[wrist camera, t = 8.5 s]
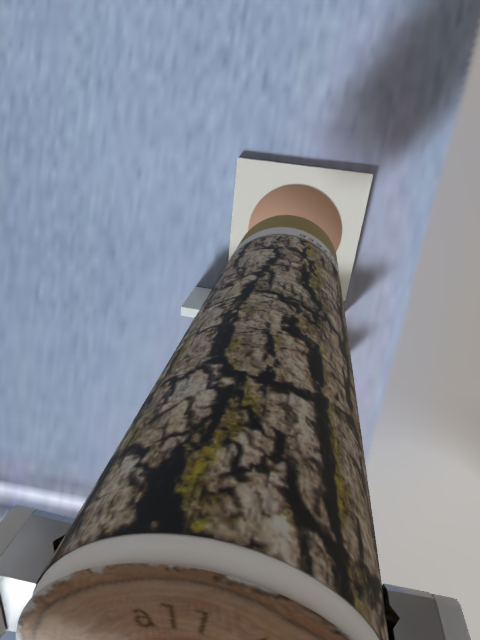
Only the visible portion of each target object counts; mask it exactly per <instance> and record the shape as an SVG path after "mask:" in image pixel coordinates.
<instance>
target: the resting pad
mask: <svg viewBox="0 0 480 640" xmlns="http://www.w3.org/2000/svg"><path fill="white" fill-rule="evenodd" d="M372 178H373V174H372V173H364V172H355V171H347V170H339V169H331V168H323V167H315V166H307V165H298V164H290V163H282V162H274V161H266V160H258V159H250V158H242V157H238V160H237V171H236V181H235V192H234V203H233V214H232V225H231V236H230V247H229V257H228V261H229V260H230V259H231V256H232V255H233V253H234V251H235V250H236V249H237V247H238V245H239V244H240V242H241V240H242V239H243V237H244V236H245V234H246V233H247V232H248V231H249V230H250V229H251V228H252V227H253V226H254V225H256V224H257V223H259V222H261V221H263V220H265V219H267V218H270V217H273V216H278V215H294V216H299V217H303V218H305V219H308V220H310V221H312V222H313V223H315V224H316V225H318V226H319V227H320V228H321V229H322V230H323V231H324V232H325V233H326V234H327V235H328V237H329V238H330V240H331V242H332V244H333V246H334V248H335V251H336V256H337V262H338V269H339V274H340V282H341V289H342V296H343V301H345V300H346V295H347V291H348V286H349V282H350V277H351V273H352V268H353V264H354V259H355V255H356V250H357V246H358V241H359V237H360V232H361V228H362V223H363V219H364V214H365V210H366V205H367V201H368V196H369V192H370V187H371V183H372Z"/></svg>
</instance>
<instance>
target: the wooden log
mask: <svg viewBox="0 0 480 640" xmlns="http://www.w3.org/2000/svg"><path fill="white" fill-rule="evenodd" d="M16 640H389V635H388V628H387V621H386V613H385V606H384V599H383V591H382V584H381V577H380V569H379V562H378V554H377V547H376V540H375V532H374V525H373V517H372V510H371V503H370V496H369V489H368V481H367V473H366V466H365V458H364V451H363V444H362V436H361V429H360V422H359V414H358V407H357V399H356V392H355V385H354V377H353V370H352V363H351V355H350V348H349V341H348V333H347V326H346V318H345V311H344V304H343V296H342V289H341V282H340V274H339V269H338V262H337V256H336V251H335V248H334V246H333V244H332V242H331V240H330V238H329V237H328V235H327V234H326V233H325V232H324V231H323V230H322V229H321V228H320V227H319V226H318V225H316V224H315V223H313V222H312V221H310V220H308V219H305V218H303V217H299V216H294V215H278V216H273V217H270V218H267V219H265V220H263V221H261V222H259V223H257V224H256V225H254V226H253V227H252V228H251V229H250V230H249V231H248V232H247V233H246V234H245V236H244V237H243V239H242V240H241V242H240V244H239V245H238V247H237V249H236V250H235V251H234V253H233V255H232V256H231V259H230V260H229V261H228V263H227V265H226V266H225V268H224V270H223V271H222V273H221V275H220V276H219V278H218V280H217V281H216V283H215V285H214V286H213V288H212V290H211V291H210V293H209V295H208V296H207V298H206V300H205V301H204V303H203V305H202V307H201V308H200V310H199V312H198V313H197V315H196V317H195V318H194V320H193V322H192V323H191V325H190V327H189V328H188V330H187V332H186V333H185V335H184V337H183V338H182V340H181V342H180V343H179V345H178V347H177V348H176V350H175V352H174V353H173V355H172V357H171V359H170V360H169V362H168V364H167V365H166V367H165V369H164V370H163V372H162V374H161V375H160V377H159V379H158V380H157V382H156V384H155V385H154V387H153V389H152V390H151V392H150V394H149V395H148V397H147V399H146V400H145V402H144V404H143V405H142V407H141V409H140V410H139V412H138V414H137V416H136V417H135V419H134V421H133V422H132V424H131V426H130V427H129V429H128V431H127V432H126V434H125V436H124V437H123V439H122V441H121V442H120V444H119V446H118V447H117V449H116V451H115V452H114V454H113V456H112V457H111V459H110V461H109V462H108V464H107V466H106V468H105V469H104V471H103V473H102V474H101V476H100V478H99V479H98V481H97V483H96V484H95V486H94V488H93V489H92V491H91V493H90V494H89V496H88V498H87V499H86V501H85V503H84V504H83V506H82V508H81V509H80V511H79V513H78V514H77V516H76V518H75V519H74V521H73V523H72V525H71V526H70V528H69V530H68V531H67V533H66V535H65V536H64V538H63V540H62V541H61V543H60V545H59V546H58V548H57V550H56V551H55V553H54V555H53V556H52V558H51V560H50V561H49V563H48V565H47V566H46V568H45V570H44V571H43V573H42V575H41V577H40V578H39V580H38V582H37V584H36V586H35V588H34V591H33V594H32V598H31V599H30V600H29V601H28V603H27V604H26V606H25V607H24V609H23V610H22V612H21V615H20V617H19V620H18V624H17V629H16Z"/></svg>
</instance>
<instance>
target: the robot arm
mask: <svg viewBox="0 0 480 640" xmlns="http://www.w3.org/2000/svg"><path fill="white" fill-rule="evenodd" d="M74 519H75V518H72V517H67V516H63V515H59V514H55V513H50V512H46V511H42V510H38V509H34V508H29V507H24V506H20V505H17V506H15V507H14V508H13V509H11V510H10V511H9V512H8V513H7V515H6V516H5V517H4V518H3V520H2V521H1V523H0V638H1V637H2V636H3V635H4V634H5V633H6V630H9V631H14V632H16V629H17V624H18V620H19V617H20V615H21V612H22V610H23V609H24V607H25V606H26V604H27V603H28V601H29V600H30V599H31V598H32V594H33V591H34V588H35V586H36V584H37V582H38V580H39V578H40V577H41V575H42V573H43V571H44V570H45V568H46V566H47V565H48V563H49V561H50V560H51V558H52V556H53V555H54V553H55V551H56V550H57V548H58V546H59V545H60V543H61V541H62V540H63V538H64V536H65V535H66V533H67V531H68V530H69V528H70V526H71V525H72V523H73V521H74ZM382 591H383V599H384V606H385V613H386V621H387V628H388V635H389V640H471V639H470V635H469V633H468V629H467V625H466V622H465V619H464V615H463V612H462V609H461V606H460V604H459V602H458V601H457V599H454V598H450V597H445V596H440V595H435V594H430V593H429V592H424V591H419V590H414V589H409V588H404V587H398V586H394V585H388V584H383V585H382Z"/></svg>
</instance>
